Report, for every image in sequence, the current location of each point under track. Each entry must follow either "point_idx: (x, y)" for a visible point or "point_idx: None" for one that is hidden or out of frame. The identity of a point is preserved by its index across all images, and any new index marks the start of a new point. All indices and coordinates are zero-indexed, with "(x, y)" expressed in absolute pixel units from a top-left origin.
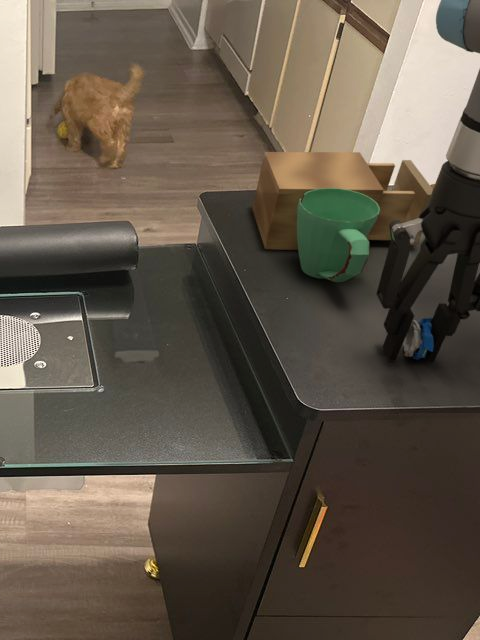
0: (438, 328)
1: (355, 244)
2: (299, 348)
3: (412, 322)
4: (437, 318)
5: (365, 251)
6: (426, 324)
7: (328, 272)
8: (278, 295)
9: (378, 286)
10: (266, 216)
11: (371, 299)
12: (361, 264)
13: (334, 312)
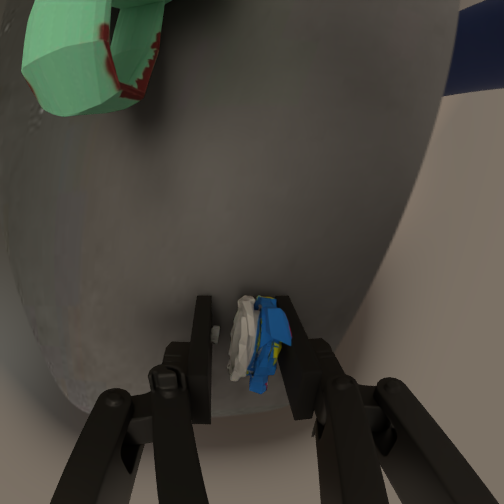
0: (287, 376)
1: (35, 80)
2: (49, 295)
3: (240, 341)
4: (292, 369)
5: (88, 94)
6: (262, 373)
7: (125, 21)
8: (30, 101)
9: (90, 415)
10: None
11: (233, 84)
12: (115, 105)
13: (124, 151)
